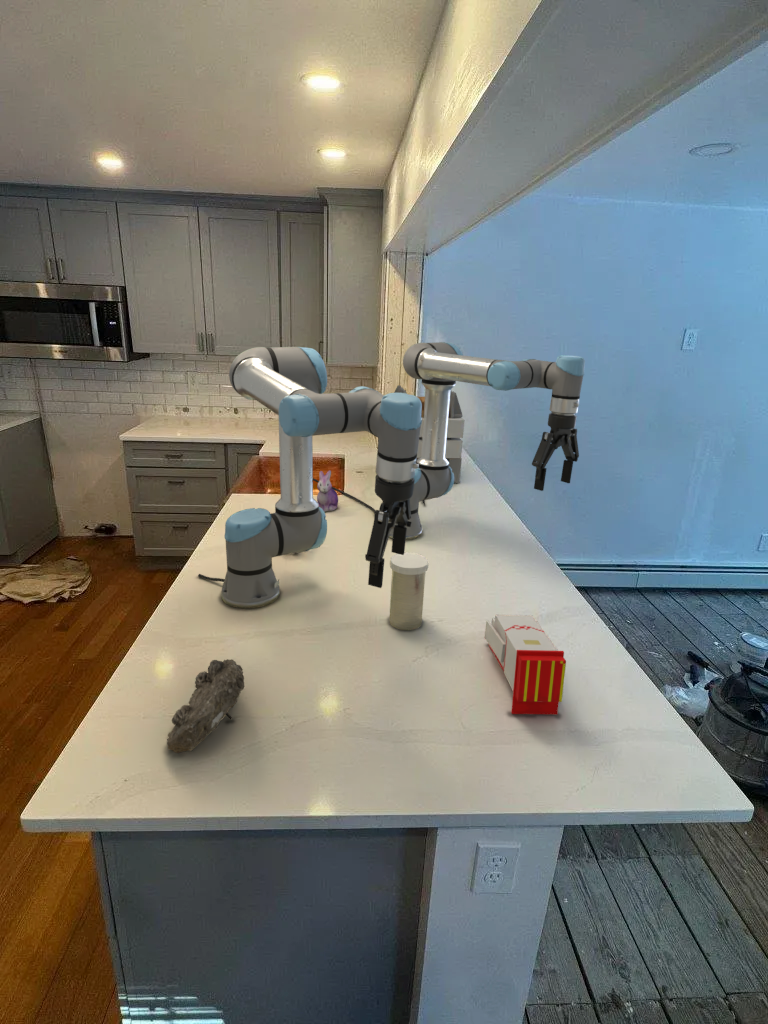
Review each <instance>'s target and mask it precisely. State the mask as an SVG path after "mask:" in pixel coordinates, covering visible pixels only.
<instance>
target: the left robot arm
mask: <svg viewBox="0 0 768 1024" xmlns="http://www.w3.org/2000/svg"><path fill="white" fill-rule="evenodd" d="M228 377H229V382H230V384H231V387H232V388H233V390H234V391H235V392H236V393H237V394H238V395H240V396H241V397H242V398H244V399H246V400H249V401H256V402H258V403H259V404H261V405H262V406H264V407H265V408H267V409H268V410H270V411H271V412H272V413H274V414H276V415H277V416H278V446H279V447H278V448H279V452H278V453H279V454H278V455H279V484H280V485H279V487H280V488H279V489H280V498H279V499H278V500H277V501H276V502H275V504H274V508H275V509H274V510H275V511H274V512H270V511H269V510H268V509H266V508H261V507H258V508H255V507H250V508H246V509H242V510H238V511H236V512H234V513H232V514H231V515H230V516H229V517H228V518H227V519H226V521H225V523H224V524H225V525H224V540H225V555H226V573H225V576H224V578H219V577H211V576H206V575H204V574H201V573H198V575H197V577H199V578H201V579H204V580H206V581H212V582H222V583H223V584H222V586H221V600H222V601H223V603H224V604H226V605H227V606H230V607H233V608H235V609H236V608H237V609H257V608H262V607H265V606H268V605H270V604H272V603H274V602H275V601H276V600H278V598H279V597H280V585H279V584H280V579H277V577H276V574H275V572H274V569H273V558H276V557H282V556H287V555H293V554H295V553H296V554H297V553H302V552H305V553H306V552H309V551H312V550H315V549H318V548H320V547H321V546H322V545H323V544H324V542H325V540H326V538H327V533H328V521H327V519H326V518H327V515H326V513H325V511H323V509H322V508H320V507H319V504H318V502H317V499H315V498H314V481H313V478H314V468H313V467H314V462H313V461H314V459H313V457H314V456H313V450H314V449H313V436H324V435H334V434H348V433H360V432H367V433H370V434H371V435H372V436H374V437H376V438H377V453H376V464H375V474H376V475H375V481H374V493H375V495H376V496H377V498H379V499H381V501H382V502H381V503H380V504H379V505H380V506H379V509H375V510H376V511H375V513H374V517H373V523H372V528H371V532H370V537H369V541H368V545H367V550H366V554H365V556H364V557H365V561H366V562H369V565H368V566H369V567H368V580H367V581H368V582H367V585H368V586H372V587H375V588H378V589H382V587H383V580H384V571H385V570H384V568H385V558H384V556H385V552H386V549H387V546H388V542H389V540H390V538H389V535H390V532H391V529H393V528H394V530H393V539H392V541H391V542H392V543H391V553H394V554H401V555H404V552H405V550H406V541H407V540H406V532H407V528H406V527H405V526H407V527H411V524H412V522H410V521H408V520H410V519H411V509H410V498H411V497H412V495H413V490H414V481H415V480H414V478H413V477H414V476H415V469H417V468H418V467H419V465H418V464H416V460H417V452H418V444H419V436H420V428H421V423H422V418H421V411H422V403H421V401H420V399H419V398H418V397H419V396H418V397H417V396H416V395H414V394H408V393H407V392H406V393H394V392H389V393H387V394H382V393H381V392H380V391H378V390H376V389H374V388H371V387H368V386H362V385H361V386H356V387H355V388H353V389H351V390H349V391H348V392H335V393H325V392H326V390H327V387H328V372H327V368H326V364H325V362H324V359H323V358H322V356H321V355H320V353H319V352H318V351H317V350H316V349H315V348H311V347H303V346H282V347H281V346H277V347H276V346H275V347H273V346H271V347H268V346H267V347H266V346H256V347H252V348H248V349H246V350H244V351H242V352H241V353H239V354H238V355H237V356H236V357H235V358H234V359H233V361H232V362H231V364H230V367H229V372H228ZM388 522H391V523H388ZM395 524H398V525H395Z"/></svg>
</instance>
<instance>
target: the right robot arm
mask: <svg viewBox="0 0 768 1024" xmlns="http://www.w3.org/2000/svg"><path fill="white" fill-rule="evenodd" d="M585 365H586V360H585V358H584V357H582V356H578V355H566V354H565V355H564V354H563V355H558V356H557V357H556V360H555V361H549V360H541V359H536V358H524V359H521V360H506V359H505V360H504V359H503V360H502V359H496V358H487V357H479V356H471V355H464V354H463V352H462V350H461V349H460V347H459V346H457V345H456V344H455V343H451V342H445V341H443V342H442V341H441V342H440V341H439V342H438V341H437V342H417V343H414V344H412V345H411V346H409V347H408V348H407V350H406V351H405V353H404V355H403V358H402V366H403V369H404V372H405V373H406V374H407V375H408V376H409V377H411V378H412V379H415V380H421V385H422V386H423V387H424V389H425V392H424V397H425V404H424V419H423V434H422V449H421V457H420V458H418V459H417V461H416V464H418V465H419V467H418V468H417V469H415V476H414V477H413V478H414V480H415V481H414V490H413V495H412V497H411V498H410V509H411V519H410V520H408V521H410V522H412V524H411V527H407V526H405V527H406V528H407V532H406V541H410V540H415V539H418V538H420V537H421V536H422V535H423V525H422V524H421V518H420V515H419V507H420V506H419V505H420V502H423V501H424V500H425V501H427V500H431V499H437V498H440V497H443V496H446V495H448V493H450V492H451V490H452V489H453V488H454V487H453V486H454V484H455V483H454V473H452V469H451V467H450V466H449V462H448V461H447V459H446V458H445V453H446V441H447V428H448V416H449V404H450V392H451V391H452V389H453V388H454V387H455V386H456V384H457V382H461V383H465V384H473V385H479V386H487V387H491V388H492V389H494V390H496V391H503V392H504V391H511V390H520V389H532V388H533V389H534V388H539V389H546V390H551V398H550V404H549V413H548V418H547V419H548V420H547V426H548V427H549V428H550V431H549V432H548V431H543V432H542V435H541V440H540V442H539V445H538V447H537V449H536V452H535V454H534V457H533V460H532V461H531V466H533V467H535V475H534V477H535V478H534V485H533V489H534V490H537V491H539V492H543V491H544V489H545V484H546V483H545V482H546V476H547V468H546V466H547V465H548V463H549V461H550V459H551V457H552V456H553V454H554V453H555V451H556V450H557V449H558V448H560V447H561V449H562V452H563V455H564V458H565V459H563V463H562V468H561V469H562V470H561V475H560V482H562V483H566V484H571V478H572V472H573V466H574V463H576V462H578V461H579V457H580V453H579V444H578V428H576V423H577V419H578V416H577V414H578V412H579V411H578V410H579V406H580V397H581V391H582V385H583V380H584V376H585ZM319 481H320V480H318V479H316V478H314V477H313V482H315V483H317V484H318V483H319ZM332 489H334V490H335V491H336V492H338V493H340V494H342V495H344V496H346V497H349V498H350V499H352V500H354V501H356V502H358V503H360V504H361V505H363V506H365V507H366V508H368V509H370V510H371V512H373V513H374V514H375V511H376V510H377V509H375V508H374V507H372V506H371V505H369V504H368V503H366V502H365V501H363V500H361V499H359V498H357V497H356V496H354V495H352V494H349V493H348V492H345V491H343V490H341V489H338V488H337V487H335V486H332ZM388 523H391V522H388ZM395 525H398V524H395ZM393 530H394V528H393V529H391V532H390V535H389V540H393Z"/></svg>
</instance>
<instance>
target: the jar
mask: <svg viewBox="0 0 768 1024" xmlns="http://www.w3.org/2000/svg"><path fill="white" fill-rule="evenodd" d="M390 581H391V582H390V600H389V617H388V618H389V622H388V623H389V625H391V626H392V628H395V629H396V630H400V631H413V630H416V629H419V628H420V627H421V626H422V621H423V610H424V609H423V608H424V597H425V596H424V595H425V583H426V571H425V572H424V573H421V574H417V575H406V574H401V573H398V572H395V571H394V570H392V569H391V580H390Z"/></svg>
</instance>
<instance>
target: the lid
mask: <svg viewBox="0 0 768 1024" xmlns="http://www.w3.org/2000/svg"><path fill="white" fill-rule="evenodd" d="M429 565H430V564H429V559H428V558H427V557H426V556H425V555H423V554H420V553H417V552H409V551H408V552H407V551H406V552H405V551H404V555H401V554H397V553H394V554H393V555H392V556H391V557H390V559H389V567H390V568H391V571H392V570H394V571H395V572H398V573H401V574H406V575H417V574H421V573H424V572H425V573H426V572H427V571H428V569H429Z"/></svg>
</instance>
